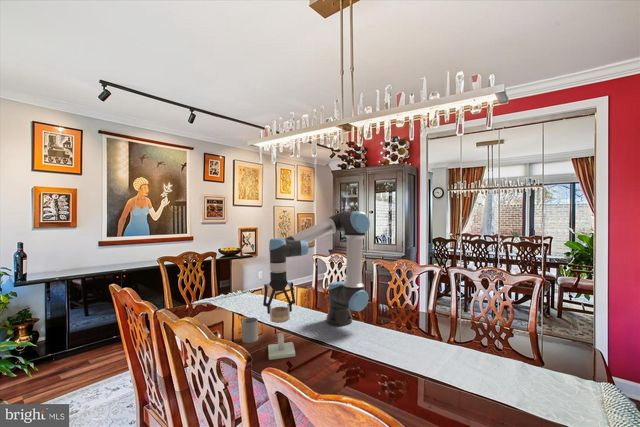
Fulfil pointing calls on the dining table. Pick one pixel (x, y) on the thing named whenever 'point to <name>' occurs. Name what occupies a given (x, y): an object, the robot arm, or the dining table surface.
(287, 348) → the post stand
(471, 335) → the dining table surface
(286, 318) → the ring
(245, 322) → the cup
